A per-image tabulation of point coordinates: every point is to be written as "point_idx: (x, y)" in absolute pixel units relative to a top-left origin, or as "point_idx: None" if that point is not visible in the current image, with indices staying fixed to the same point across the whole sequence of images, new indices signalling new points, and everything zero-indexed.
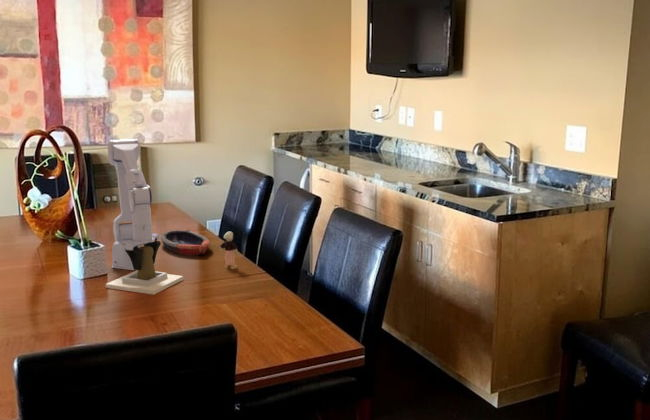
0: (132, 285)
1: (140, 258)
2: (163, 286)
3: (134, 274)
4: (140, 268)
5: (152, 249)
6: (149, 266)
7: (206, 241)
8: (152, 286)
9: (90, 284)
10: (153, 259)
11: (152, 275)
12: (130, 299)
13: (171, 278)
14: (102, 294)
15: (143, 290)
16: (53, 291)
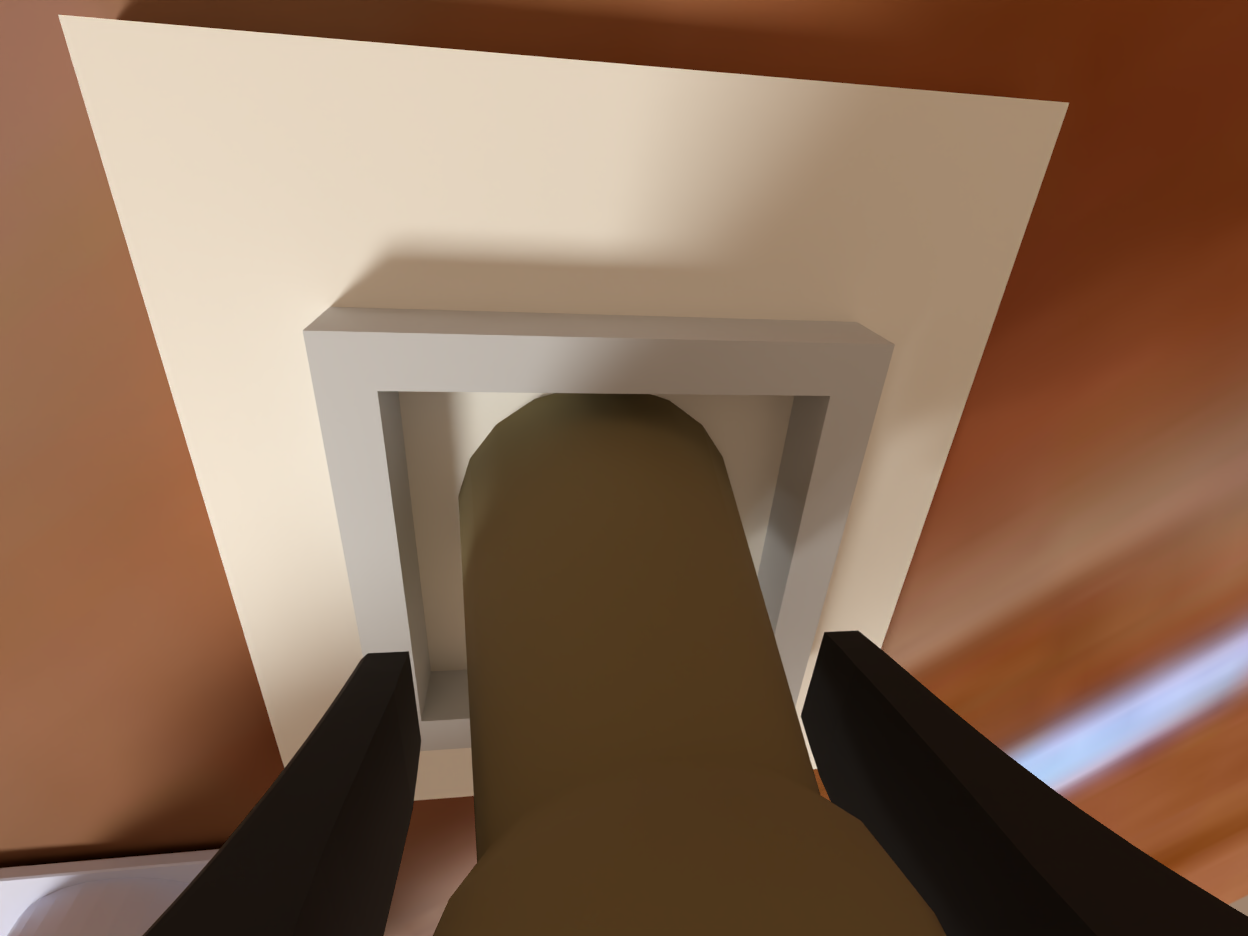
0: (848, 537)
1: (1053, 838)
2: (799, 79)
3: None
4: (855, 645)
5: None
6: (715, 576)
7: None
8: (855, 262)
9: None
10: (380, 734)
11: (646, 443)
12: (1197, 314)
13: (348, 190)
14: (1011, 651)
15: (983, 311)
16: None
